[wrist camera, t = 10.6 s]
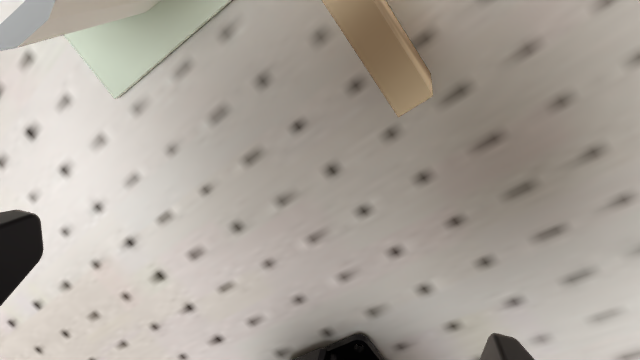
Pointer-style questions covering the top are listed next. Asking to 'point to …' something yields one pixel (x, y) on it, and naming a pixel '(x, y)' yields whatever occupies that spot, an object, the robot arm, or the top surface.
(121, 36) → the pad
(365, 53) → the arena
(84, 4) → the white cup
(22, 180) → the top surface
